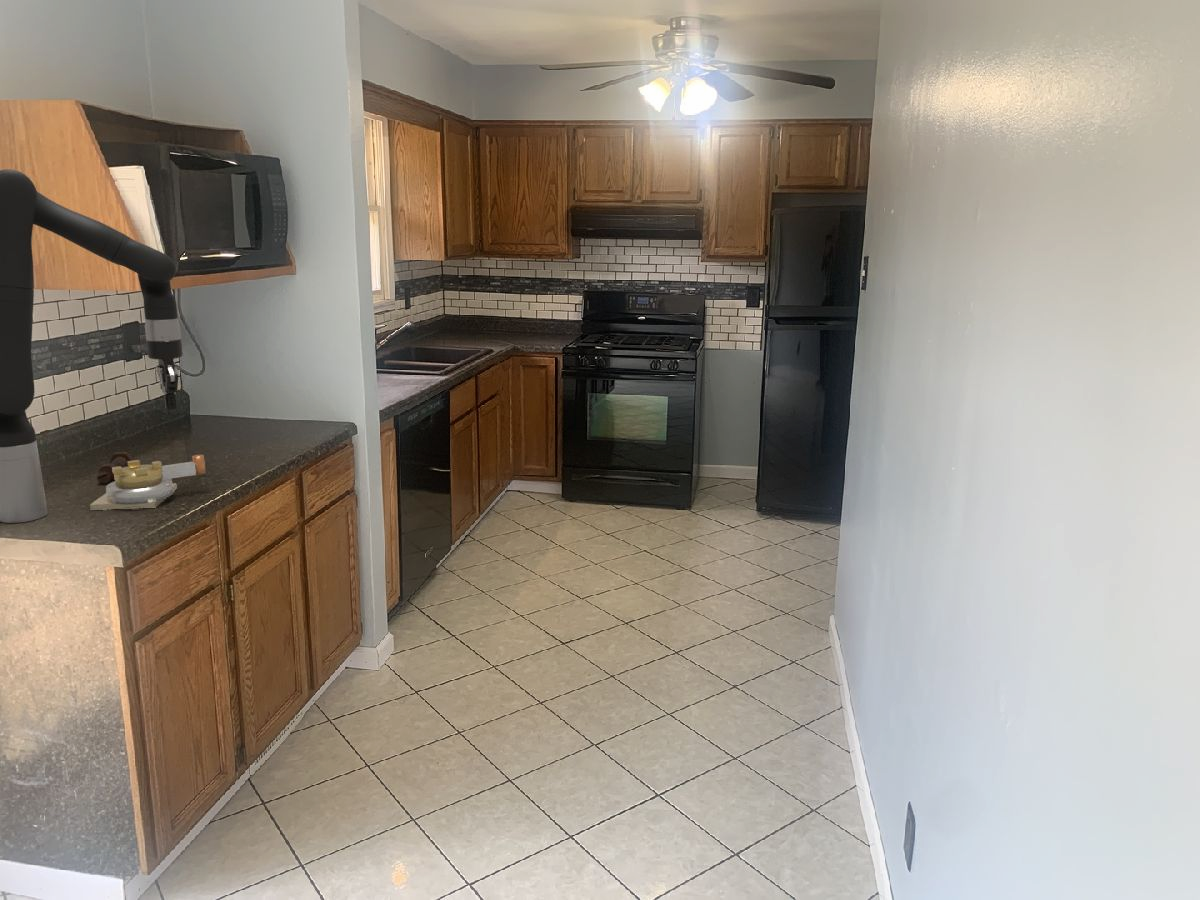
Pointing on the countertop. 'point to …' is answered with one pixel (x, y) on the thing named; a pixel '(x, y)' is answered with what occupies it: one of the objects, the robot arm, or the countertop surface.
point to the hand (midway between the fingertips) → (171, 409)
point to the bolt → (116, 460)
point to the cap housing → (134, 496)
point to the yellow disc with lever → (155, 472)
